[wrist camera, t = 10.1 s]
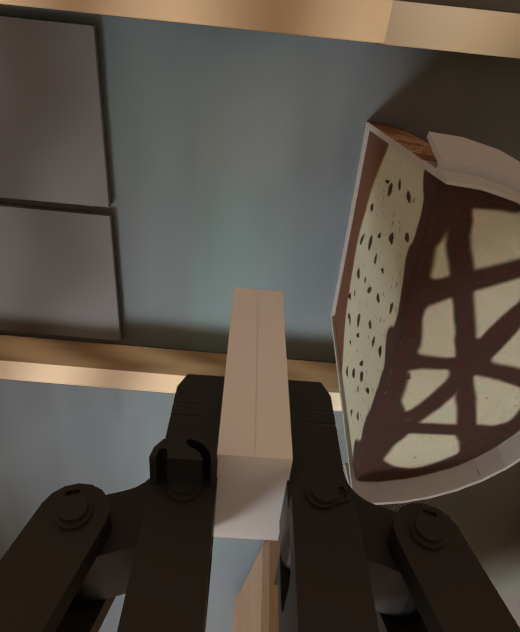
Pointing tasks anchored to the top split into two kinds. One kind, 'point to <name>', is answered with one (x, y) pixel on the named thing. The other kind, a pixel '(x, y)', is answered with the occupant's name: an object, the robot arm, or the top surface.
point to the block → (259, 593)
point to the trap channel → (93, 181)
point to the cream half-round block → (429, 316)
